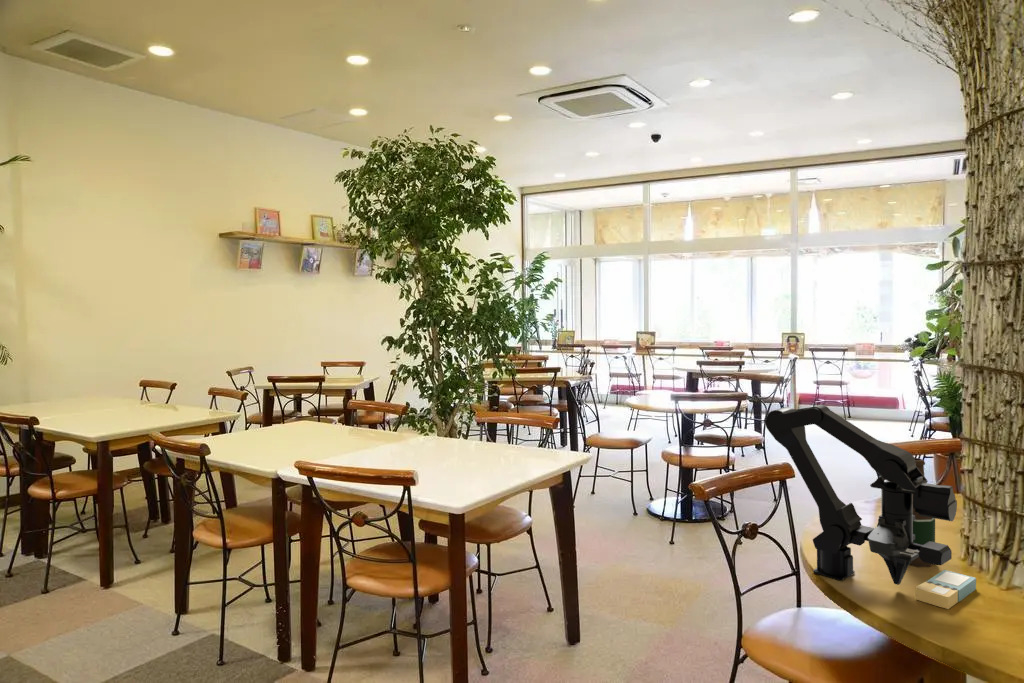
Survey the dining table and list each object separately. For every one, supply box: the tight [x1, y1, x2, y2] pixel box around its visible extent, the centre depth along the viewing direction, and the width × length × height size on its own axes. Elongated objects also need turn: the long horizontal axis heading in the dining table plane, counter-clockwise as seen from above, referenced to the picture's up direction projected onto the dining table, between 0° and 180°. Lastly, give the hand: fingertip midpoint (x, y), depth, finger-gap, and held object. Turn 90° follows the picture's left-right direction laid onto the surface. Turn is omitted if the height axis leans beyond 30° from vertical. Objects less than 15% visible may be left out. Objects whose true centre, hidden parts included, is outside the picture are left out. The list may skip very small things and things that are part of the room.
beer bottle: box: [909, 457, 936, 568], centre depth 159 cm, size 8×8×24 cm
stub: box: [914, 580, 958, 610], centre depth 139 cm, size 6×5×2 cm
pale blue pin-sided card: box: [926, 569, 977, 603], centre depth 144 cm, size 6×9×2 cm, turn 128°
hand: (897, 583), depth 145 cm, fingers closed
